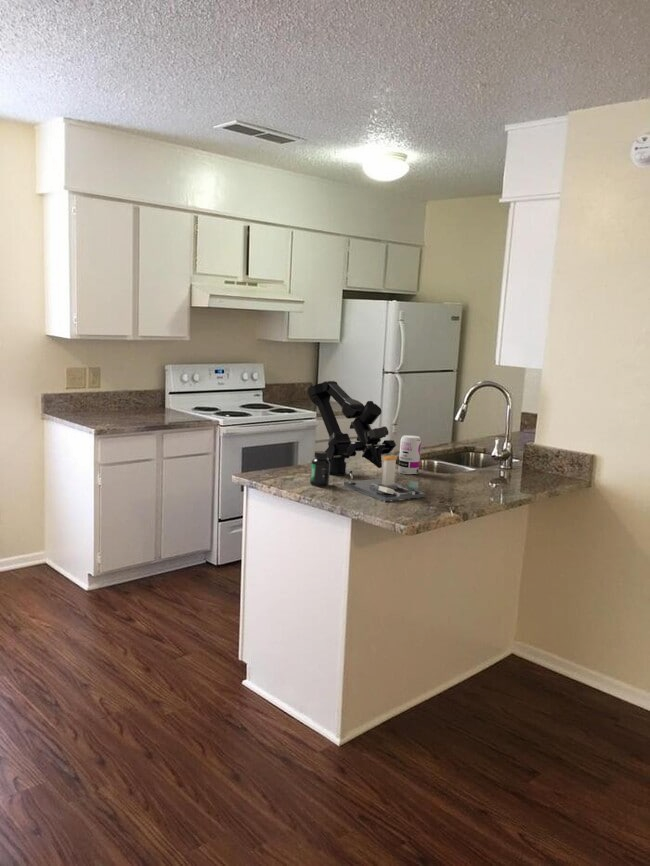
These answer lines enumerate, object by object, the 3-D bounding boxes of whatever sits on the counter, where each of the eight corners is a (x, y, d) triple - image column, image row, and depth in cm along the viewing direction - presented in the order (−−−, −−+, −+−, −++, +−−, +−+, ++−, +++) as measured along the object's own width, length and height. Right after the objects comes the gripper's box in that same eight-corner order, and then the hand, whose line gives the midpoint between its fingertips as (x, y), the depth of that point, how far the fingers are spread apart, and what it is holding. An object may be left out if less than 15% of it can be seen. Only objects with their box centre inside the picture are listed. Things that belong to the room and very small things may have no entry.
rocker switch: (378, 489, 247) (379, 485, 247) (385, 491, 249) (386, 487, 249) (386, 492, 244) (387, 488, 244) (393, 494, 246) (394, 490, 246)
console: (343, 485, 262) (344, 479, 262) (382, 482, 272) (383, 475, 272) (384, 502, 242) (385, 494, 242) (425, 497, 252) (426, 490, 252)
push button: (406, 487, 254) (406, 481, 253) (413, 487, 256) (414, 481, 255) (412, 490, 251) (412, 484, 250) (419, 489, 253) (420, 483, 252)
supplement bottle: (311, 486, 258) (313, 453, 256) (308, 482, 264) (310, 450, 262) (330, 487, 259) (332, 454, 257) (327, 482, 265) (329, 450, 264)
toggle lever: (350, 480, 260) (348, 470, 261) (352, 480, 261) (351, 470, 262) (351, 479, 259) (350, 470, 260) (354, 479, 260) (352, 469, 261)
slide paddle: (377, 486, 256) (380, 455, 254) (388, 485, 259) (391, 455, 257) (386, 490, 252) (389, 458, 250) (397, 489, 255) (399, 457, 253)
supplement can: (418, 472, 294) (421, 435, 292) (418, 476, 286) (421, 439, 284) (398, 470, 295) (400, 434, 293) (398, 474, 287) (401, 437, 285)
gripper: (353, 419, 255) (370, 456, 248) (395, 418, 265) (412, 453, 258) (339, 437, 263) (355, 473, 255) (380, 435, 273) (396, 470, 266)
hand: (380, 467), depth 258 cm, fingers closed
